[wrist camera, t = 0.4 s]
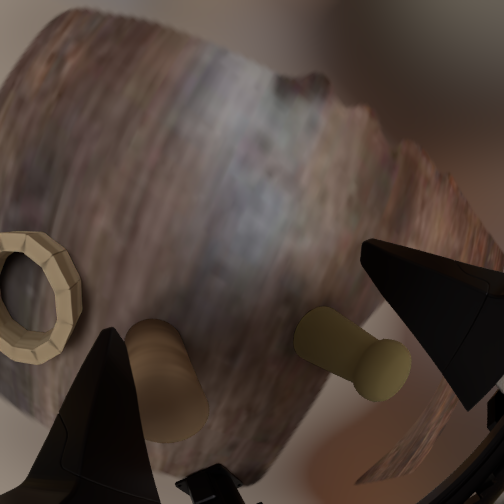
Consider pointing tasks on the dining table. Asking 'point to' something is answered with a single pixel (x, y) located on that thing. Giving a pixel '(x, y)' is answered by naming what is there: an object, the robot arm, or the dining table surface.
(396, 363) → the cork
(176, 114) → the dining table surface
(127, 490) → the robot arm
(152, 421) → the walnut peg
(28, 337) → the wooden ring
